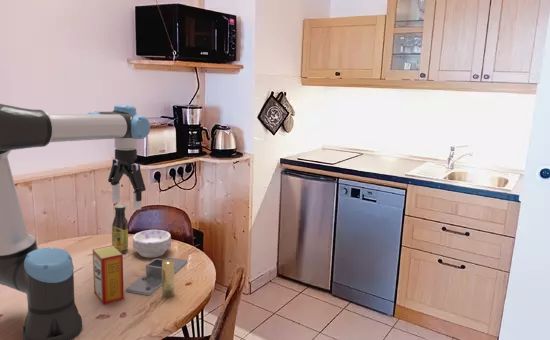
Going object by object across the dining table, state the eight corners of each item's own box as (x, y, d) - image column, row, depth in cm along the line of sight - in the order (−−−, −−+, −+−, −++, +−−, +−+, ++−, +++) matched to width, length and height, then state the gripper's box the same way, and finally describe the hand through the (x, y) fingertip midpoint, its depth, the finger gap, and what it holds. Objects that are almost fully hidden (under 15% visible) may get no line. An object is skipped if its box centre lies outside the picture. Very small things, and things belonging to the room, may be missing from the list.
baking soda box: (94, 293, 147) (92, 248, 144) (113, 288, 151) (112, 244, 148) (103, 304, 140) (101, 257, 137) (123, 299, 144) (122, 253, 141)
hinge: (149, 295, 147) (149, 282, 146) (125, 291, 149) (125, 278, 148) (187, 262, 175) (187, 250, 174) (166, 259, 177) (166, 247, 176)
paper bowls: (135, 263, 172) (135, 243, 170) (131, 249, 186) (130, 231, 184) (174, 258, 178) (174, 239, 177) (167, 245, 192) (167, 227, 190)
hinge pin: (170, 298, 146) (170, 265, 143) (159, 296, 147) (159, 263, 144) (176, 293, 150) (176, 260, 147) (165, 291, 150) (165, 258, 148)
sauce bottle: (109, 252, 181) (107, 205, 177) (121, 247, 186) (120, 202, 182) (118, 256, 178) (117, 209, 174) (131, 251, 183) (130, 205, 179)
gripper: (155, 152, 152) (155, 210, 156) (116, 143, 168) (116, 197, 172) (137, 154, 147) (137, 214, 151) (97, 145, 162) (99, 200, 166)
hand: (126, 205), depth 161 cm, fingers open, 13 cm apart
